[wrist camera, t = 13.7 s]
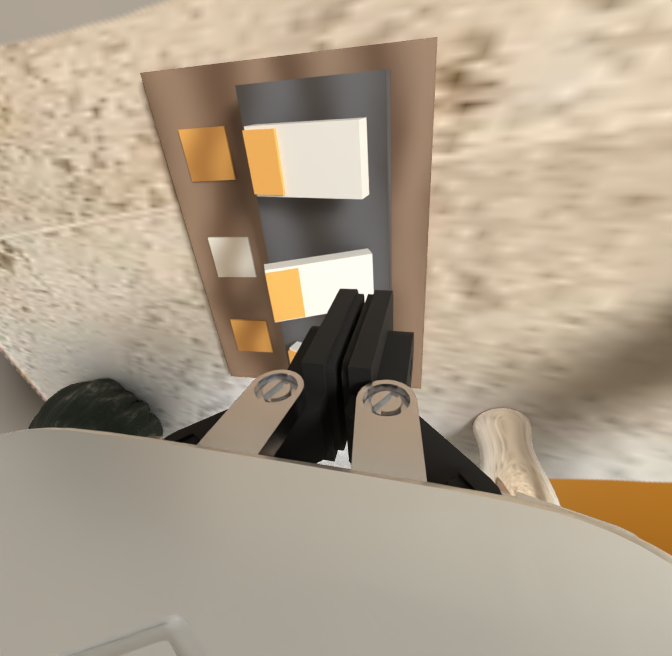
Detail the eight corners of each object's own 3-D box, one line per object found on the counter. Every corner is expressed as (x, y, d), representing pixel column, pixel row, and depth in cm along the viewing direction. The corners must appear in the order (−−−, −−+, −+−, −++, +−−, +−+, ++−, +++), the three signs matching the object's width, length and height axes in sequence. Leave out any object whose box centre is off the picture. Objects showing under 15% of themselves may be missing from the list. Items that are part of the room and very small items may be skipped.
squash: (140, 493, 56) (87, 542, 41) (47, 446, 55) (-42, 478, 40) (191, 407, 58) (157, 424, 43) (101, 360, 57) (35, 361, 42)
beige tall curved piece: (509, 455, 45) (541, 597, 33) (456, 433, 45) (468, 568, 32) (548, 419, 41) (601, 566, 29) (490, 395, 41) (519, 532, 28)
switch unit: (436, 38, 25) (439, 29, 21) (420, 381, 42) (420, 421, 37) (149, 73, 30) (96, 72, 25) (235, 369, 46) (213, 404, 41)
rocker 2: (368, 248, 29) (373, 255, 28) (370, 298, 32) (374, 306, 30) (264, 264, 28) (264, 271, 27) (274, 314, 31) (275, 324, 29)
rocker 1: (366, 117, 22) (357, 119, 21) (369, 194, 25) (360, 200, 24) (254, 124, 25) (241, 126, 24) (266, 192, 28) (255, 197, 27)
